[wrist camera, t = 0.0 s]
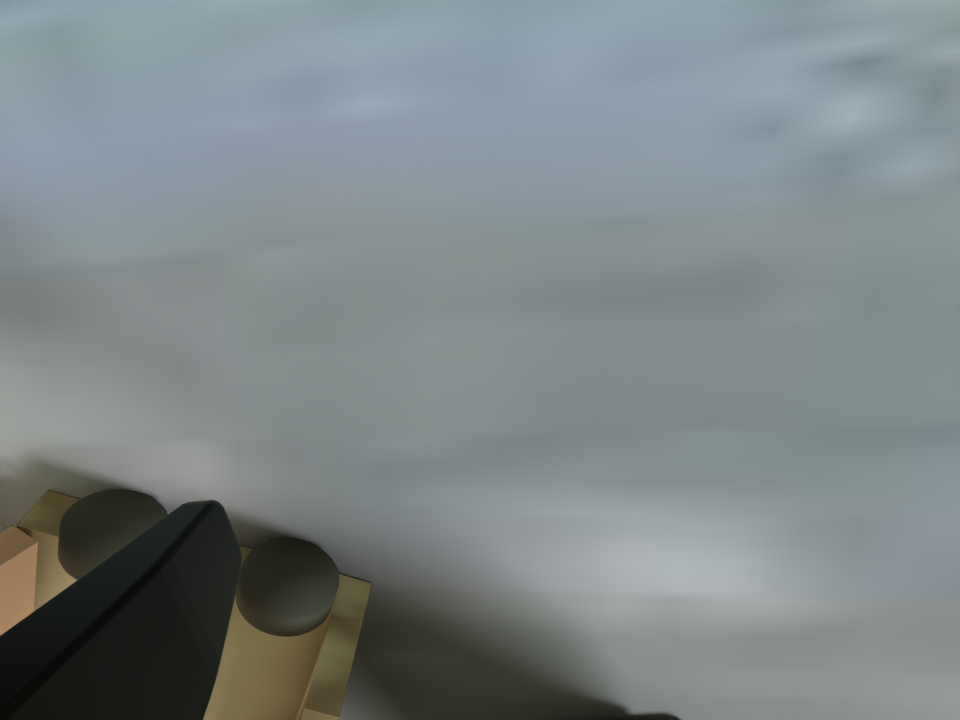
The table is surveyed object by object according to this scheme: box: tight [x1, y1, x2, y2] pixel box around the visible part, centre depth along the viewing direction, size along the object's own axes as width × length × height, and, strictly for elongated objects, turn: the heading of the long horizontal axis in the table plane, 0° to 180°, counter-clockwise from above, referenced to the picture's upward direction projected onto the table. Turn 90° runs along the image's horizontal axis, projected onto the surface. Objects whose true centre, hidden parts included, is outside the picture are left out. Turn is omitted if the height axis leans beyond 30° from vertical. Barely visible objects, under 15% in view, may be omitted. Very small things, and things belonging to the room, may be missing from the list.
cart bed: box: [17, 490, 372, 720], centre depth 30 cm, size 13×16×6 cm
